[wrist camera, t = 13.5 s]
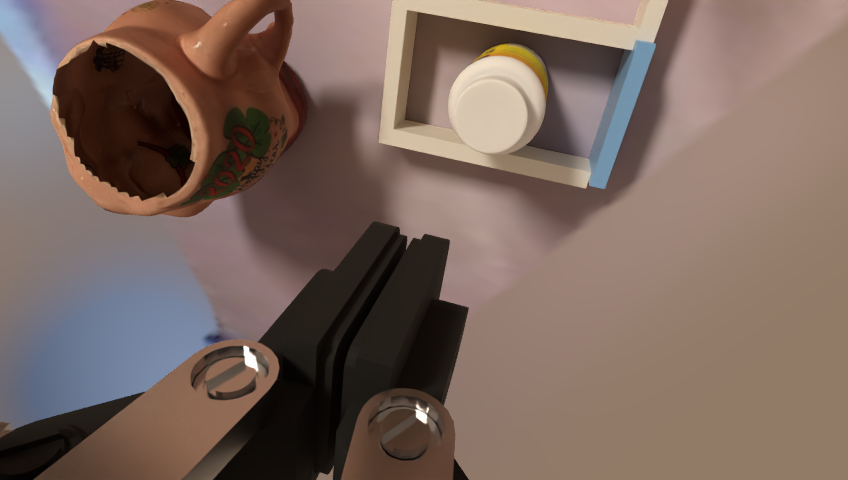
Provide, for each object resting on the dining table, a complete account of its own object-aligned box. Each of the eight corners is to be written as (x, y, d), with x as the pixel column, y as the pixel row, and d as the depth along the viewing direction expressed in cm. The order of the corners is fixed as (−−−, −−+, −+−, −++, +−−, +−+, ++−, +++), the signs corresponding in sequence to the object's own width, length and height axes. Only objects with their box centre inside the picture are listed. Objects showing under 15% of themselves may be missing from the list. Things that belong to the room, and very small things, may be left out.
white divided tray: (710, -152, 26) (734, -173, 23) (597, 177, 35) (601, 197, 32) (426, -186, 28) (407, -210, 25) (390, 131, 38) (373, 146, 34)
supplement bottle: (500, 24, 32) (478, 38, 24) (565, 73, 33) (568, 105, 24) (454, 93, 35) (419, 129, 26) (515, 138, 36) (500, 188, 27)
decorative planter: (263, -91, 33) (93, -137, 21) (395, 41, 34) (309, 69, 23) (154, 118, 42) (-5, 169, 30) (261, 212, 44) (151, 295, 32)
